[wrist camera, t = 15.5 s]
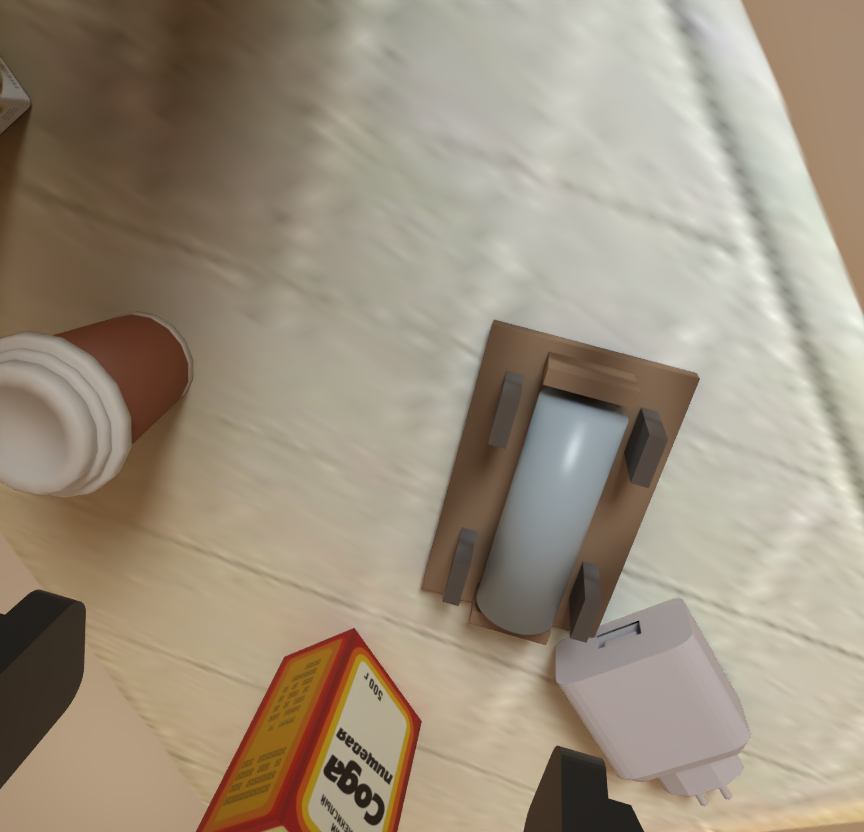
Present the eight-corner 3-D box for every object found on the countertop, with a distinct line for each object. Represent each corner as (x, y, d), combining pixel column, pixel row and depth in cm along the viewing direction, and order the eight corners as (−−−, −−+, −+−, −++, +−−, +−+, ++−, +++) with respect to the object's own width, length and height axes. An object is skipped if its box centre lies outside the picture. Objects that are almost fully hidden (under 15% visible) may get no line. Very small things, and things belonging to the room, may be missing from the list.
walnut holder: (423, 579, 49) (410, 626, 45) (493, 319, 42) (486, 343, 37) (593, 628, 49) (597, 680, 44) (696, 373, 41) (714, 404, 36)
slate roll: (553, 592, 47) (555, 643, 42) (479, 572, 47) (473, 621, 42) (622, 401, 41) (634, 436, 37) (538, 379, 41) (539, 412, 37)
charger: (650, 788, 53) (555, 639, 50) (772, 753, 50) (681, 592, 47) (658, 847, 49) (555, 688, 45) (793, 812, 46) (694, 640, 42)
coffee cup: (126, 260, 44) (-18, 305, 33) (240, 360, 45) (139, 436, 34) (57, 360, 47) (-94, 431, 36) (165, 451, 49) (51, 546, 38)
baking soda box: (421, 721, 54) (372, 942, 40) (352, 745, 56) (281, 963, 42) (354, 628, 52) (275, 826, 37) (284, 656, 54) (183, 855, 39)
